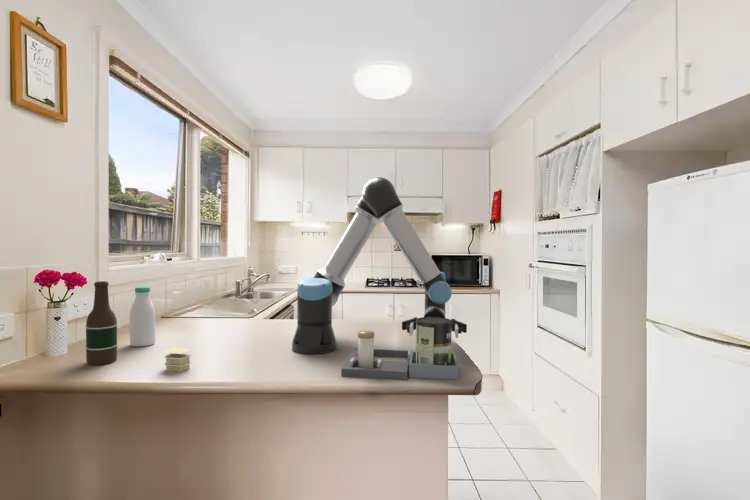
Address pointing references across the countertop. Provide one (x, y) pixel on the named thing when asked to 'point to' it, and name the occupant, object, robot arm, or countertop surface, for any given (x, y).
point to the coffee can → (433, 341)
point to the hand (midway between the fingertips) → (433, 332)
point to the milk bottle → (142, 319)
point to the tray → (433, 369)
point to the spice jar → (365, 349)
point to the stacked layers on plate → (177, 359)
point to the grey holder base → (378, 365)
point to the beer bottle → (101, 329)
